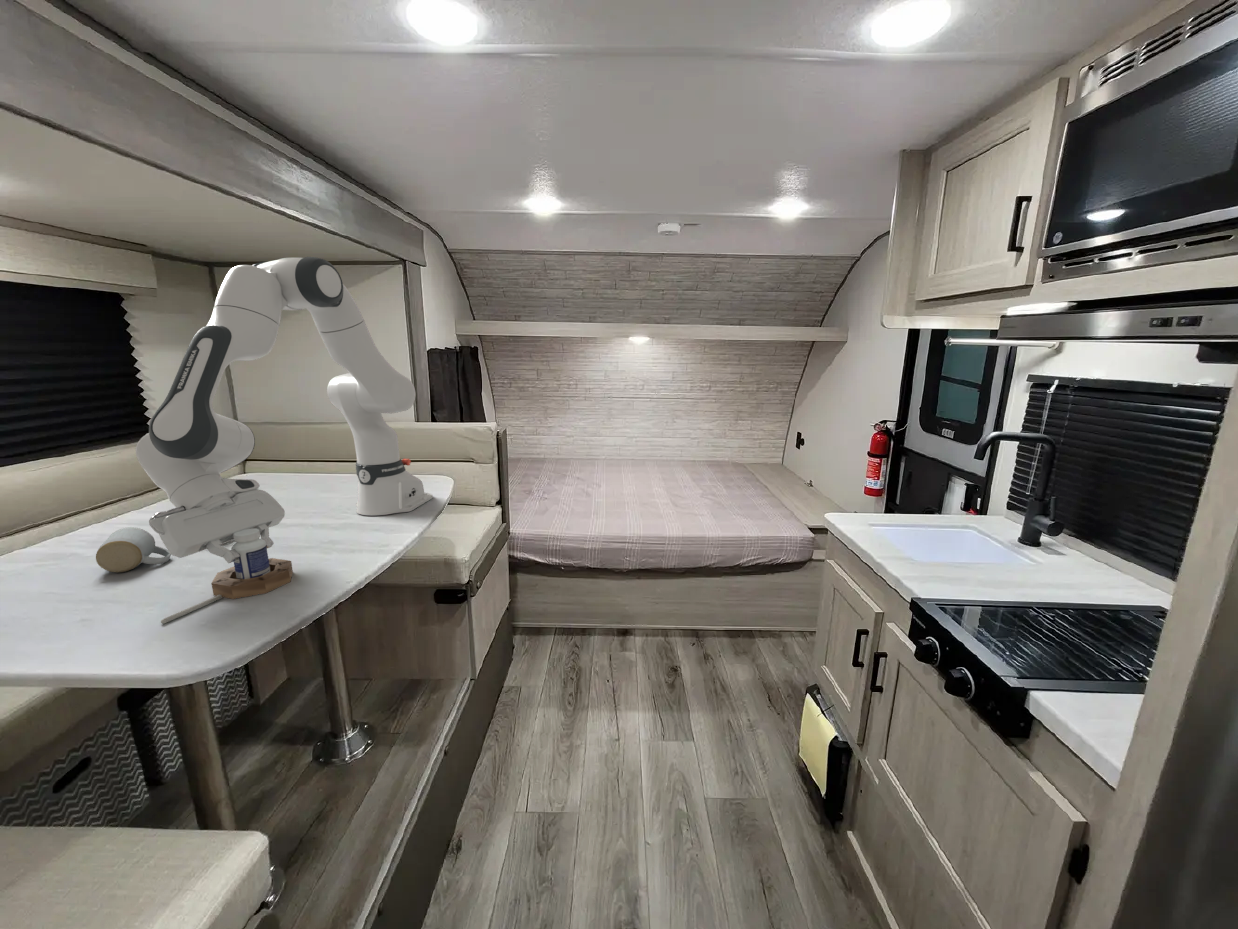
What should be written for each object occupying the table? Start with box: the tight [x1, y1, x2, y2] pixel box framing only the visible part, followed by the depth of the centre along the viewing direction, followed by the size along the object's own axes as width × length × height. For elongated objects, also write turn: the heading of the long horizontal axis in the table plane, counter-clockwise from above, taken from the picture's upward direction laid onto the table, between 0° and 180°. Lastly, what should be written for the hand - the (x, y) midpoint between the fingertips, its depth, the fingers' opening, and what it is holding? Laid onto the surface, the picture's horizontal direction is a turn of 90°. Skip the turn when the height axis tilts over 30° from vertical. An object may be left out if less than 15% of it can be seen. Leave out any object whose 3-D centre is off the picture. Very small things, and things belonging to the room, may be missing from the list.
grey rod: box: [160, 595, 223, 625], centre depth 86 cm, size 9×1×1 cm, turn 164°
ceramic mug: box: [95, 526, 172, 573], centre depth 104 cm, size 11×8×8 cm
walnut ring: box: [211, 557, 294, 600], centre depth 96 cm, size 12×12×2 cm
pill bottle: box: [230, 529, 271, 580], centre depth 95 cm, size 5×5×10 cm
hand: (252, 553), depth 95 cm, fingers closed on pill bottle, 5 cm apart
